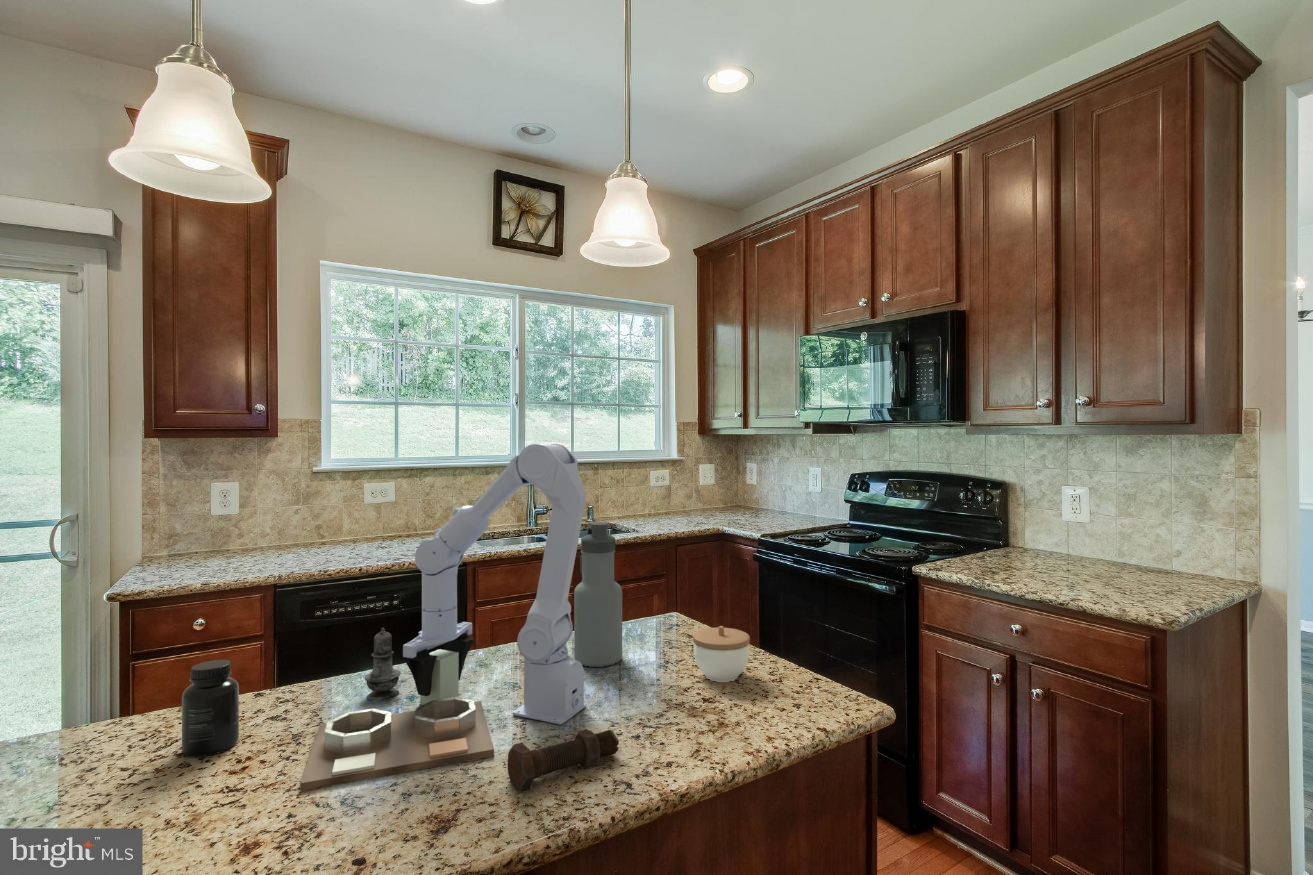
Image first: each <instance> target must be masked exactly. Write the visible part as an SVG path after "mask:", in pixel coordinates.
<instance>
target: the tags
mask: <svg viewBox="0 0 1313 875" xmlns="http://www.w3.org/2000/svg"><path fill="white" fill-rule="evenodd" d="M429 750H430V758H435V757H441V756H447V755H452V754H458V753H464V752H468V747H467V741H466V738H461V739H455V740H449V741H443V742H437V743H431V744H429ZM375 756H376V753H371V754H365V755H359V756H353V757H347V758H341V759H335V762H334V767H333V771H332V775H338V774H343V773H349V772H355V771H361V770H366V769H372V768H374V765H375Z"/></svg>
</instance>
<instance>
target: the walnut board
mask: <svg viewBox="0 0 1313 875" xmlns="http://www.w3.org/2000/svg"><path fill="white" fill-rule="evenodd" d="M474 705H475V709H476V725H475V726H474V727H473V728H471V729H469V730H468V731H466V732H464V733H463V734H461V735H459V736H453V737H447V738H441V739H434V740H433V739H429V738H425V737H421V736H417V735H416V733H415V710H410V711H404V712H398V713H397V712H396V713H391V739H390V740H388V741H386V742H385V743H383V744H381V745H379V746H377V747H376V748H374V749H372V750H368V751H362V752H356V753H350V754H344V755H343V754H338V753H334V752H331V751H327V750H325V729H326V726H327V723H323V724H319V726H318V729H317V733H316V735H315V739H314V742H313V745H312V748H311V751H310V754H309V757H308V759H307V763H306V765H305V769H304V772H303V776H302V779H301V782H300V792H303V791H308V790H309V791H310V790H315V789H319V788H327V787H331V786H335V785H342V784H347V783H353V782H354V783H355V782H359V781H363V780H369V779H370V780H371V779H376V778H380V777H386V776H392V775H398V774H403V773H408V772H409V773H410V772H414V771H419V770H420V771H421V770H425V769H431V768H437V767H443V766H447V765H453V764H459V763H465V762H470V761H475V760H481V759H487V758H493V757H495V748H494V745H493V741H492V737H491V733H490V730H489V726H488V722H487V719H486V714H485V712H484V707H483V705H482V701H481V700H477V701H474ZM452 717H457V715H449V716H443V717H436V718H433V719H435V720H439V719H445V718H452ZM370 729H372V727H371V728H364V729H358V730H351V731H348V732H346V733H345V734H348V733H354V732H361V731H367V730H370ZM461 738H466V741H467V747H468V752H464V753H458V754H452V755H447V756H441V757H435V758H430V750H429V744H431V743H437V742H443V741H449V740H455V739H461ZM371 753H376V756H375V765H374V768H372V769H366V770H361V771H355V772H349V773H343V774H338V775H332V771H333V767H334V762H335V759H341V758H347V757H353V756H359V755H365V754H371Z"/></svg>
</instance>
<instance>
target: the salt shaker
mask: <svg viewBox="0 0 1313 875" xmlns="http://www.w3.org/2000/svg"><path fill="white" fill-rule="evenodd" d="M385 630H386V629H385V627H384V626H383V627H381V629H380V631H379V632H378V633H376V634H375V636H374V638H373V653H371V657H373V668H372V670H371V672H369V673H367V674H366V675H365V676H364V680H365V681H366V687H367V688H368V689H369V690H371V692H369V693H367V695H366V700H367V701H369V702H375V703H376V702H377V703H379V702H385V701H389V700H392V699H395V698H396V697H398V696H399V694H400V691H399V690H398V689H396V688H395V687H396V686H397V685H398V682H399V679H400V676H401V674H402V673H401V670H398V669H396V668H395V669H394V667H393V655H394V653H395V652H394V650H392V644H393V642H392V636H393V635H392V634H391V633H390V632H388V631H385Z"/></svg>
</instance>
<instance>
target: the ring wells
mask: <svg viewBox="0 0 1313 875" xmlns="http://www.w3.org/2000/svg"><path fill="white" fill-rule="evenodd" d="M474 702H475V701H474V700H473V699H468V698H465V697H460V696H459V697H451V698H444V699H437V700H433V701H430V702H428V703H426V704H424V705H422V704H421V705H420V706H417V708H415V710H414V711H415V733H416V735H417V736H421V737H425V738H429V739H433V740H434V739H441V738H447V737H453V736H459V735H461V734H463V733H464V732H466V731H468V730H469V729H471V728H473V727H474V726H475V725H476V709H475V705H474ZM391 714H392V712H391V711H387V710H382V709H378V708H368V709H361V710H353V711H348V712H346V713H344V714H341V715H339V716H337V717H335V718H332V719H331V720H328V721H327V723H326V724H327V726H326V729H325V750H327V751H331V752H334V753H338V754H343V755H344V754H350V753H356V752H362V751H368V750H372V749H374V748H376V747H377V746H379V745H381V744H383V743H385V742H386V741H388V740H390V739H391ZM449 715H457V717H452V718H445V719H439V720H435V719H433V718H436V717H443V716H449ZM371 727H372V729H370V730H367V731H361V732H354V733H348V734H345V733H346V732H348V731H351V730H358V729H364V728H371Z"/></svg>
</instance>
